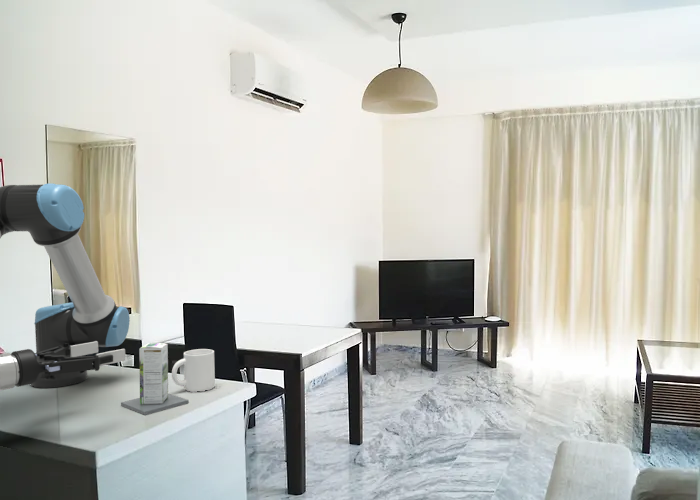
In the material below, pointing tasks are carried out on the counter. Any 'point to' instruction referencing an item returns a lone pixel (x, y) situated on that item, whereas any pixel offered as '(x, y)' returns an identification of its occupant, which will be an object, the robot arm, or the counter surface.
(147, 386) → the syrup box
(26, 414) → the counter surface
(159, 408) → the coaster
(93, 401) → the counter surface
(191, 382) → the mug
